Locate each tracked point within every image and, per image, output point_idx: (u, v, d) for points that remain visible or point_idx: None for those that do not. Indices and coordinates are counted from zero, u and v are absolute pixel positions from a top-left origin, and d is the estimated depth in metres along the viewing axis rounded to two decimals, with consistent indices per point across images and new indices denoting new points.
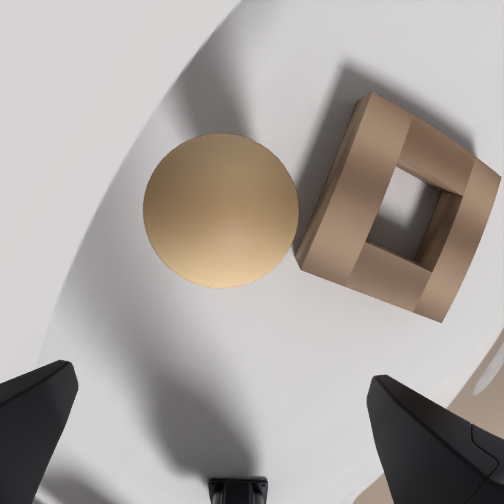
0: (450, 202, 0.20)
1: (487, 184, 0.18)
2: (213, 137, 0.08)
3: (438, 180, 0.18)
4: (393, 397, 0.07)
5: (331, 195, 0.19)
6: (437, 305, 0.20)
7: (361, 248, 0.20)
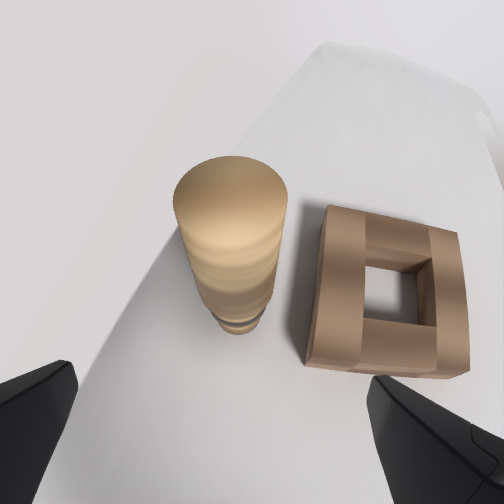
0: (425, 271, 0.23)
1: (447, 241, 0.23)
2: (220, 159, 0.13)
3: (405, 252, 0.23)
4: (393, 397, 0.07)
5: (320, 287, 0.21)
6: (457, 355, 0.18)
7: (362, 325, 0.20)
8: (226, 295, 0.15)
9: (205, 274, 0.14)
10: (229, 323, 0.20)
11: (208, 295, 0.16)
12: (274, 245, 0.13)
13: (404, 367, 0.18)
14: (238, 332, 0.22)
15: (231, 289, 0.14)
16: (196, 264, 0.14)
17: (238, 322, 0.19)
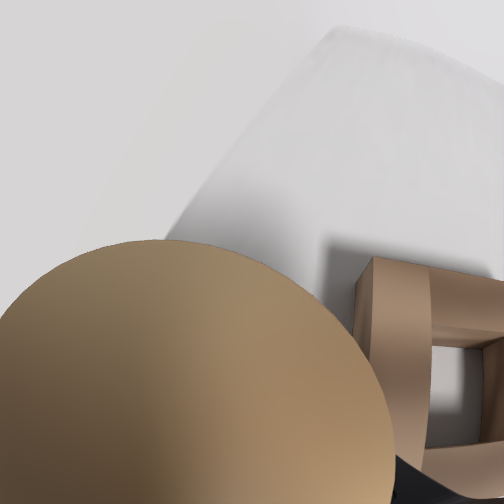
0: (499, 351, 0.13)
1: None
2: (113, 254, 0.03)
3: (482, 330, 0.13)
4: None
5: None
6: None
7: (420, 460, 0.10)
8: None
9: None
10: None
11: None
12: None
13: None
14: None
15: None
16: None
17: None
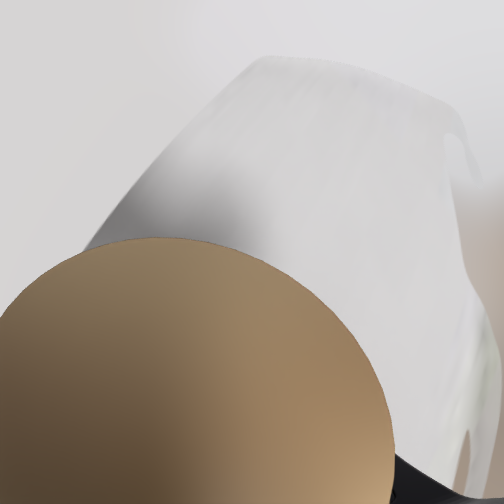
0: None
1: None
2: (113, 252, 0.03)
3: None
4: None
5: None
6: None
7: None
8: None
9: None
10: None
11: None
12: None
13: None
14: None
15: None
16: None
17: None
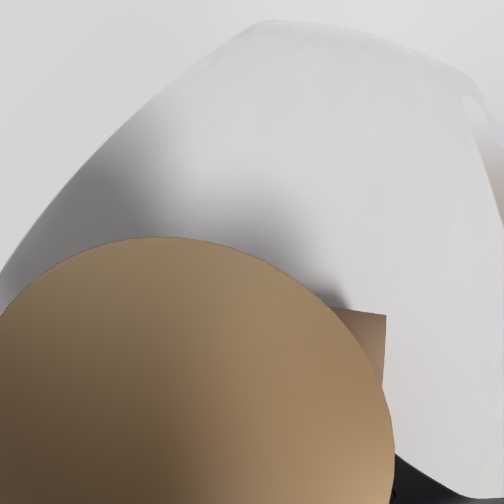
0: None
1: (359, 338, 0.13)
2: (114, 251, 0.03)
3: None
4: None
5: None
6: None
7: None
8: None
9: None
10: None
11: None
12: None
13: None
14: None
15: None
16: None
17: None
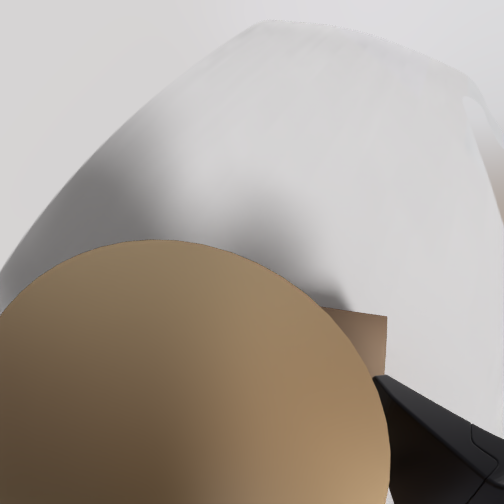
0: None
1: (360, 340, 0.13)
2: (110, 254, 0.03)
3: None
4: (393, 397, 0.07)
5: None
6: None
7: None
8: None
9: None
10: None
11: None
12: None
13: None
14: None
15: None
16: None
17: None
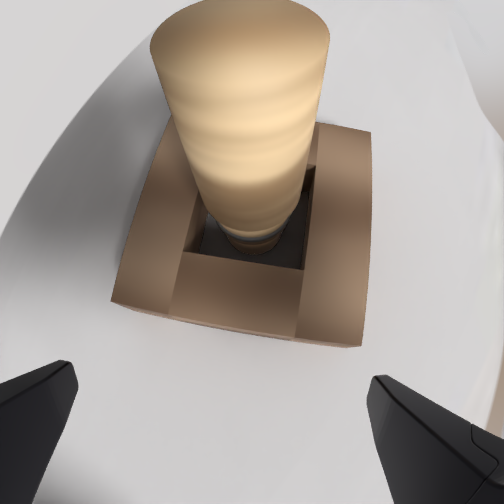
0: (311, 187, 0.18)
1: (350, 144, 0.17)
2: None
3: None
4: (393, 397, 0.07)
5: None
6: (338, 318, 0.14)
7: (180, 262, 0.15)
8: (238, 191, 0.10)
9: (205, 156, 0.09)
10: (243, 238, 0.15)
11: (212, 195, 0.11)
12: (312, 103, 0.07)
13: (238, 328, 0.14)
14: (254, 251, 0.18)
15: (246, 179, 0.09)
16: (190, 141, 0.08)
17: (255, 236, 0.15)
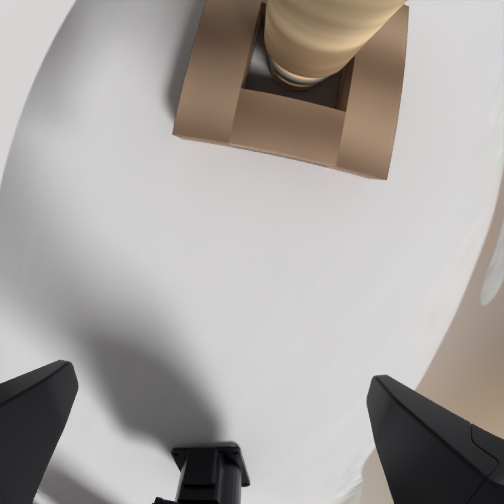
0: None
1: None
2: None
3: None
4: (393, 397, 0.07)
5: None
6: (370, 155, 0.16)
7: (238, 97, 0.16)
8: (318, 53, 0.10)
9: (302, 28, 0.09)
10: (297, 80, 0.15)
11: (289, 51, 0.11)
12: None
13: (289, 154, 0.17)
14: (298, 89, 0.18)
15: (329, 48, 0.10)
16: (292, 16, 0.08)
17: (308, 80, 0.15)
